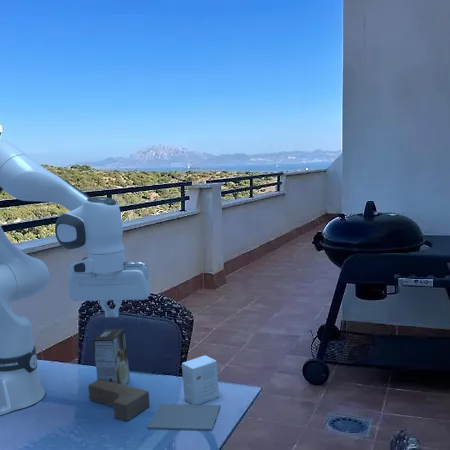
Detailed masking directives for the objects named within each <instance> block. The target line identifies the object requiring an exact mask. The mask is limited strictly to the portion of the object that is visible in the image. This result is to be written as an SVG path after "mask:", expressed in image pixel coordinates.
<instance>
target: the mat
mask: <svg viewBox="0 0 450 450" xmlns="http://www.w3.org/2000/svg"><path fill="white" fill-rule="evenodd" d="M220 409H221V404H199V405H193V404H190V403H189V404H184V403H183V404H181V403H180V404H178V403H177V404H176V403H160V404H159V407H158V408H157V410H156V411H155V413H154V415H153V417H152V418H151V420H150V422H149V424H148V425H147V430H166V431H167V430H168V431H170V430H172V431H175V430H176V431H199V430H212V429H214V427H215V424H216V421H217V418H216V417H218V415H217V414H219V412H220ZM215 420H216V421H215ZM214 423H215V424H214ZM213 426H214V427H213ZM212 431H213V430H212Z"/></svg>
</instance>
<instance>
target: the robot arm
mask: <svg viewBox="0 0 450 450" xmlns="http://www.w3.org/2000/svg"><path fill="white" fill-rule="evenodd" d="M3 191H4V192H5V193H7V194H8V195H9V196H12V197H13V198H14V199H17V200H19V201H23V202H43V203H45V202H46V203H53V204H57V205H60V206H62V207H64V208H65V209H67V210H68V212H65V213H63V214H60V215H59V216H58V218H57V219H56V221H55V225H54V233H55V238H56V240H57V242H58V243H59V245H61V247H63V248H65V249H66V250H80V249H84V248H86V249H87V257H83V258H82V259H79V260H77V261H75V262H73V263H72V264H71V265H69V271H70V276H69V278H68V296H69V298H70V299H71V300H72V301H73V302H81V301H82V302H84V301H86V302H89V301H90V302H92V301H93V302H94V301H95V302H96V301H97V302H99V306H100V307H101V309H102V310H103V311H104V317H105V318H118V317H119V314H120V312H119V309H120V307H121V305H122V303H123V301H144V300H146V299H148V298H149V297H150V295H151V286H150V285H151V284H150V280H149V276H150V271H149V267H148V265H146V264H145V263H144V262H141V261H136V262H132V261H126V254H125V253H126V252H125V246H124V243H123V235H124V230H123V219H122V213H121V209H120V207H119V204H118V202H117V201H116V199H113V198H111V197H106V196H93V197H90V196H89V195H88V194H87V193H85V192H83V191H82V190H81V189H80V188H78V187H77V186H75V185H74V184H72V183H71V182H69V181H67V180H66V179H65V178H62V177H60V176H59V175H57V174H55V173H53V172H51V171H49V170H48V169H47V168H45V167H44V166H42V165H41V164H39V163H38V162H37V161H35V160H34V159H33V158H32V157H30V156H29V155H28V154H27V153H26V152H24V151H23V150H22V149H20V148H19V147H17V146H15V145H14V144H12V143H10V142H8V141H5V140H2V139H0V194H1V193H2V192H3ZM50 277H51V275H50V272H49V269H48V266H47V264H45V262H44V261H43V260H41V259H39V258H37V257H33V256H30V255H29V254H27V253H25V252H24V251H22V250H21V249H19V248H18V247H17V246H16V245H15V244H14V243H13V242H12V241H11V240H10V239H9V238H8V236H7V234H6V233H5V231H4V229H3V228H2V226H1V225H0V416H3V415H5V414H9V413H10V412H13V411H17V410H21V409H24V408H27V407H30V406H33V405H34V404H37V403H39V402H40V401H41V400H43V398H44V397H45V395H46V391H45V389H44V387H43V385H42V382H41V379H40V375H39V371H38V357H37V350H36V346H35V345H34V336H33V328H32V323H31V320H30V319H29V318H27V317H26V316H25V315H23V314H19V313H16V312H14V311H13V308H12V303H14V302H18V301H20V300H25V299H28V298H31V297H33V296H35V295H37V294H39V293H40V292H42V291H44V290H46V289H47V287H48V285H49V283H50ZM109 301H113V304H114V305H115V307H114V308H110V306H109V305H108V304H107V303H108V302H109Z"/></svg>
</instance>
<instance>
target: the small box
mask: <svg viewBox="0 0 450 450" xmlns="http://www.w3.org/2000/svg"><path fill="white" fill-rule="evenodd" d="M181 369H182V371H181V372H182V373H181V374H182V383H183V395H184V396H183V399H184V400H185V401H186V402H188V403H189V404H190V405H203V404H204V403H206V402H209V401H212V400H214V399H217V398H219V397H220V391H219V377H218V376H219V375H218V362H217V360H215V359H214V358H212V357H209V356H208V355H206V354H205V355H202V356H198V357H195V358H193V359H191V360H190V359H189V360H187V361H183V362H182V363H181Z"/></svg>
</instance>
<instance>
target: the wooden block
mask: <svg viewBox="0 0 450 450" xmlns="http://www.w3.org/2000/svg"><path fill="white" fill-rule="evenodd" d="M88 393H89V400H90V401H93V402H97V403H101V404H103V405H106V406H107V405H108V406H112V407H113V413H114V414H113V416H114V418H115V419H119V420H122V421H125V422H128V421H130V420H131V419H133V418H134V417H135V416H137V415H138V414H140V413H142V412H144V410H146V409H148V408H149V407H150V397H149V395H150V394H149V391H148V390H146V389H141V388H138V387H133V386H129V385H127V384H126V385H122V384H118V383H114V382H110V381H106V380H101V379H99V380H95V381H93V382H91V383H90V384H88Z"/></svg>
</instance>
